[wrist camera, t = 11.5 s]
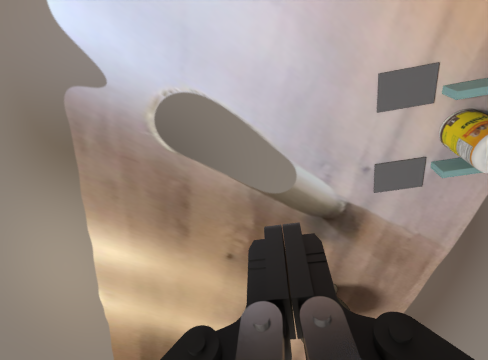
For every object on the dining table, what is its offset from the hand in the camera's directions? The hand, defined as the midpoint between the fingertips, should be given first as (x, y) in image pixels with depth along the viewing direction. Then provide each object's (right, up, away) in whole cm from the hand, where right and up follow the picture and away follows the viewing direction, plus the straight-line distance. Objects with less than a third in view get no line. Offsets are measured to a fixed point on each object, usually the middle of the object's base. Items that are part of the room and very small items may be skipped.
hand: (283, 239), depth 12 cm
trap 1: (+22, +3, +31) cm, 38 cm away
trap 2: (+19, +14, +24) cm, 34 cm away
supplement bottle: (+28, +10, +27) cm, 40 cm away
